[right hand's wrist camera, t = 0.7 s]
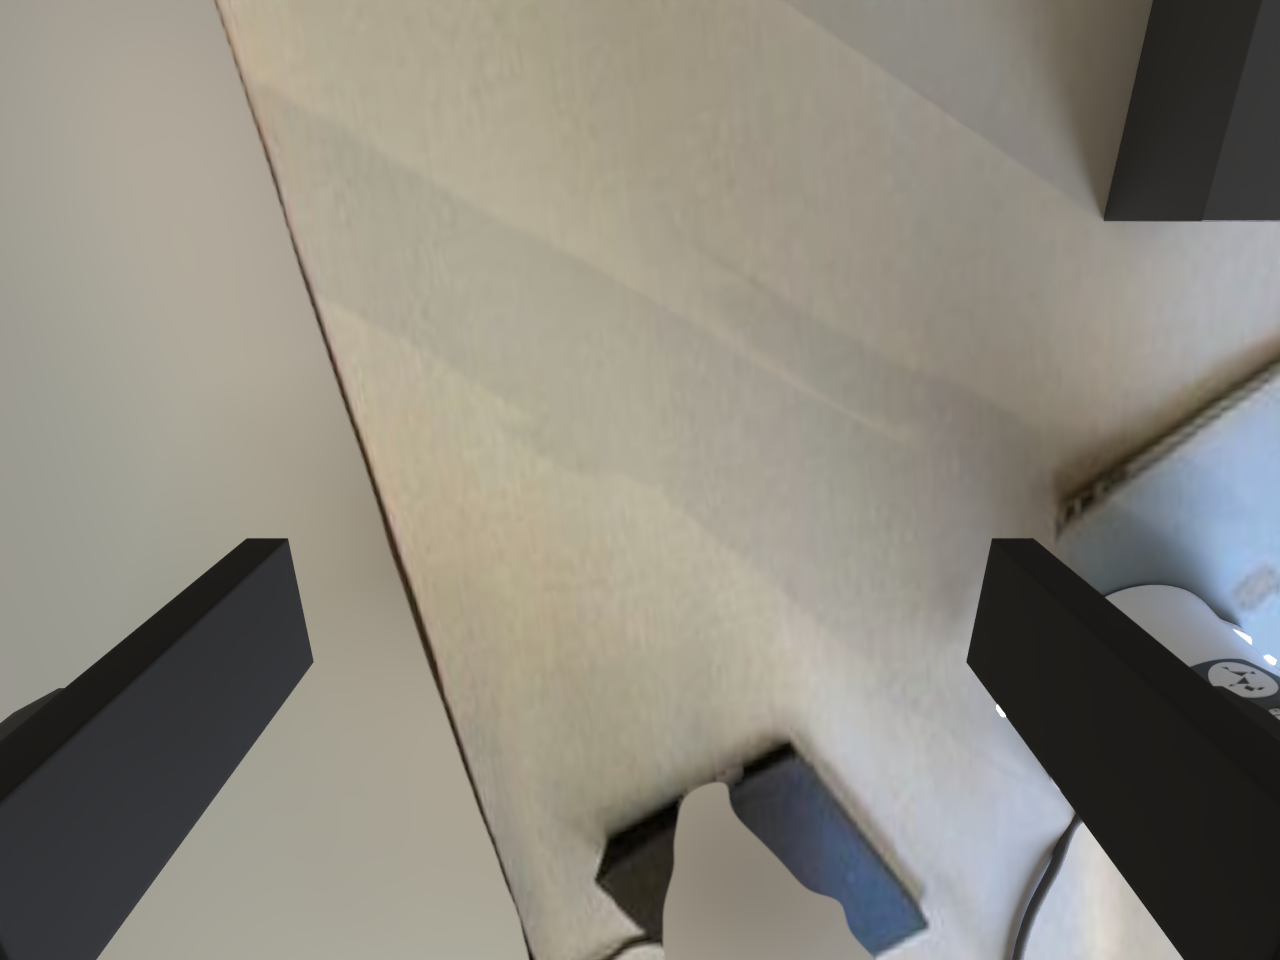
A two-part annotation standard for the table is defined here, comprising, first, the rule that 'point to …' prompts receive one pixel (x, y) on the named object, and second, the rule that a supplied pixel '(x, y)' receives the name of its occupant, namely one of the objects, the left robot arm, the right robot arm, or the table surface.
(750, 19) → the table surface
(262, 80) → the table surface
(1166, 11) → the bar
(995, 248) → the table surface
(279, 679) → the right robot arm
